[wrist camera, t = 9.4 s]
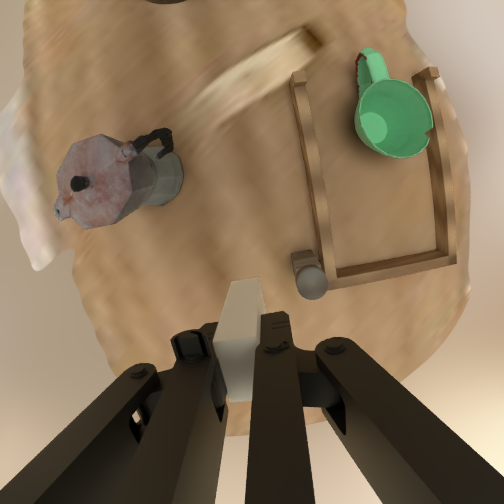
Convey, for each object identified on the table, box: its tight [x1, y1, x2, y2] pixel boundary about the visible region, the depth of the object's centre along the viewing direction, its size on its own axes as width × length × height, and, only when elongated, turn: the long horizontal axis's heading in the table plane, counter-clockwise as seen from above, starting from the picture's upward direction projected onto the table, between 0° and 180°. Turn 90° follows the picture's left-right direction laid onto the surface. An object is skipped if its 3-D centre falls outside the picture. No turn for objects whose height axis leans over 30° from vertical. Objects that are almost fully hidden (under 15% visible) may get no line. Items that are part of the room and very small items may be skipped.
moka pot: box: [54, 128, 183, 229], centre depth 35 cm, size 10×15×20 cm, turn 125°
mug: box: [354, 48, 433, 158], centre depth 36 cm, size 15×10×10 cm
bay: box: [289, 67, 457, 300], centre depth 38 cm, size 29×25×10 cm
